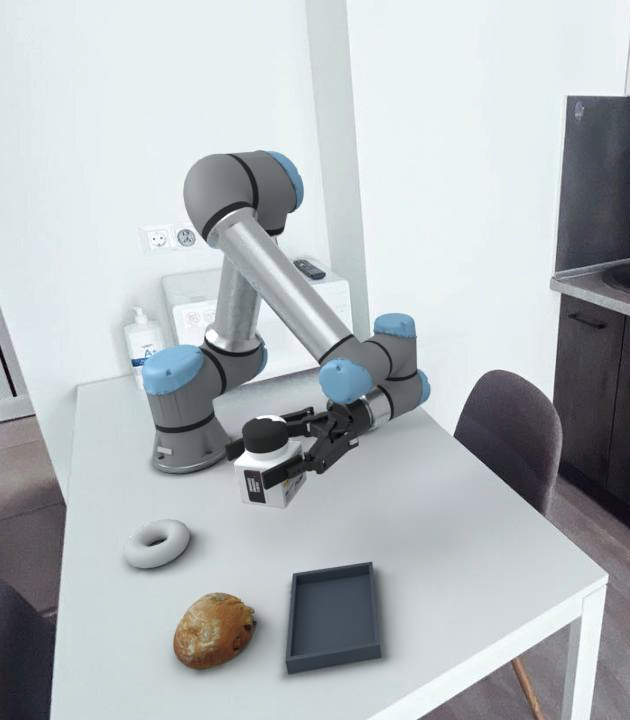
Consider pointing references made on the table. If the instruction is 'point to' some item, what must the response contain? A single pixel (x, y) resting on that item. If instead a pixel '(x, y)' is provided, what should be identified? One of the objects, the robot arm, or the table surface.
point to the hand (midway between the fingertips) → (244, 467)
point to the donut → (158, 554)
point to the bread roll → (213, 631)
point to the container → (266, 462)
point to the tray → (332, 618)
